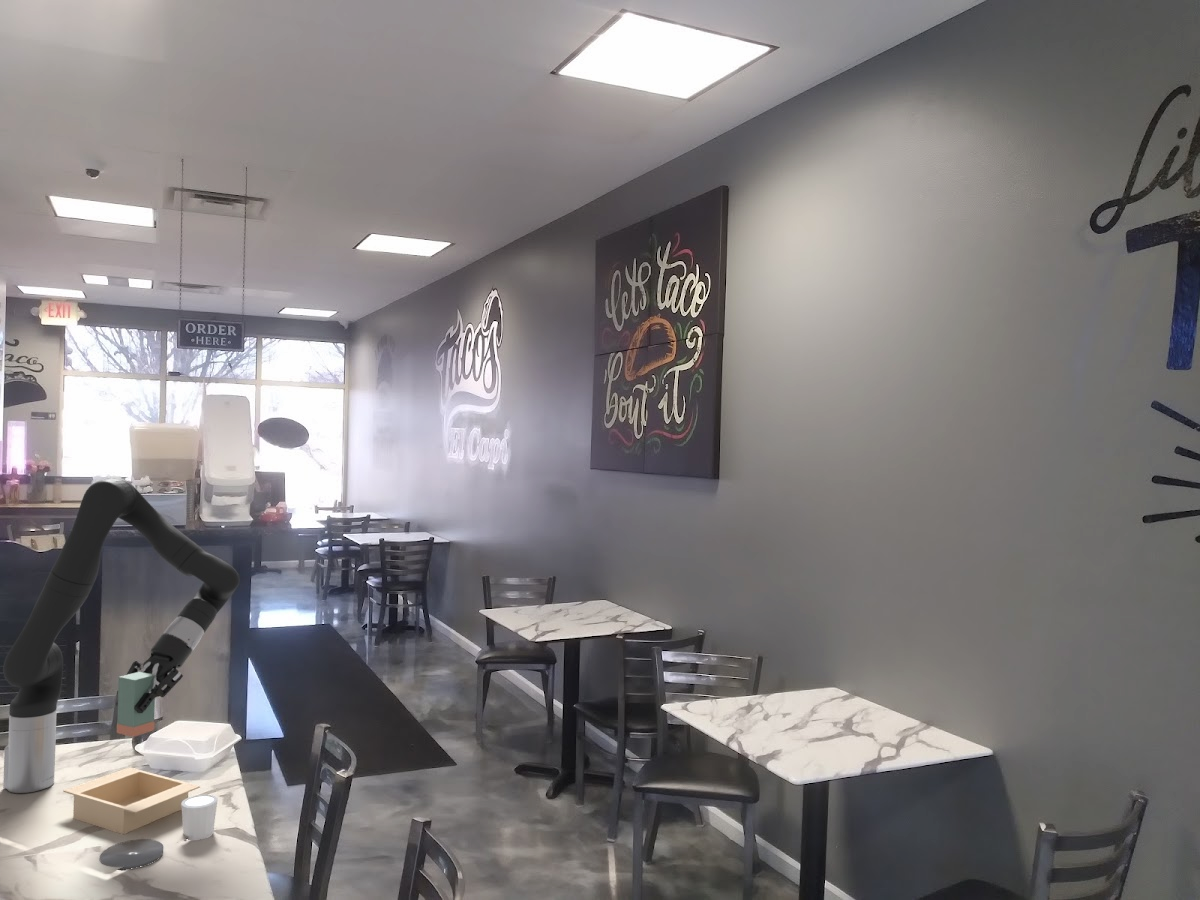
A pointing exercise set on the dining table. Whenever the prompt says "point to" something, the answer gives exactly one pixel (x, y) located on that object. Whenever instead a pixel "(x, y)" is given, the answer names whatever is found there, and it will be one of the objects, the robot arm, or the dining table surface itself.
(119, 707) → the box
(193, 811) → the white cup
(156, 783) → the carton
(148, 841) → the slate plate
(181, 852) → the dining table surface
